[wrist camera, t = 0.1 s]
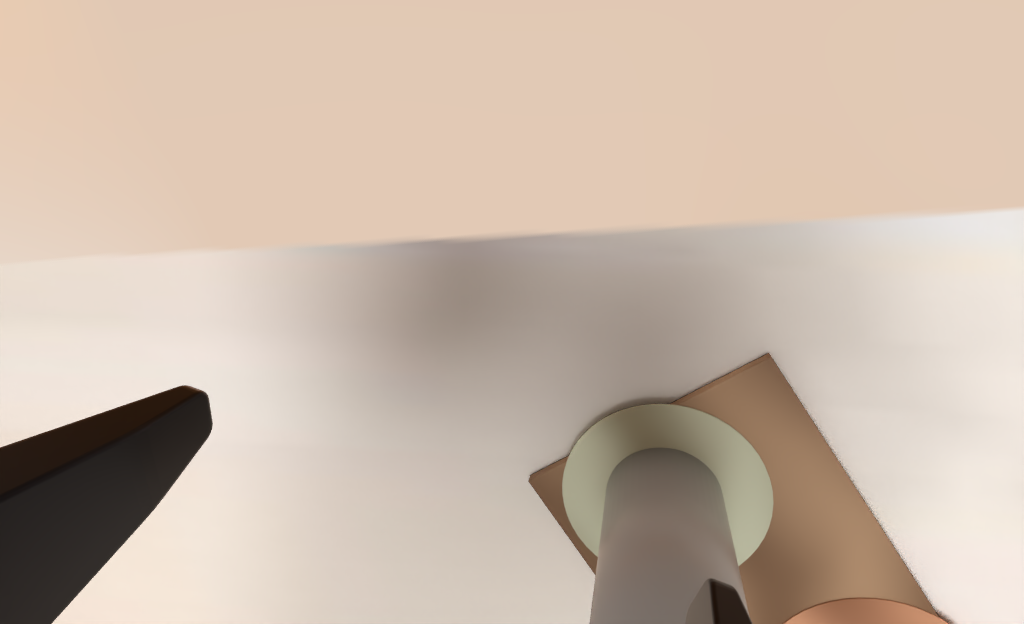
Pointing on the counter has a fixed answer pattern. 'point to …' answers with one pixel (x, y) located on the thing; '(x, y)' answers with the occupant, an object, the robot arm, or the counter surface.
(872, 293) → the counter surface
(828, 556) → the card
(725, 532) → the grey tube
